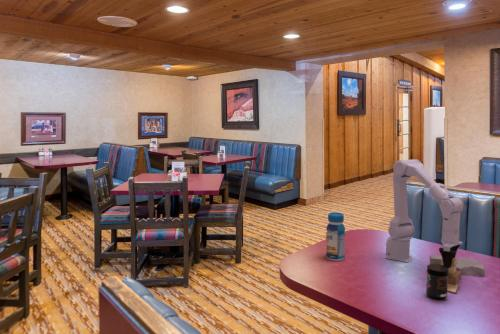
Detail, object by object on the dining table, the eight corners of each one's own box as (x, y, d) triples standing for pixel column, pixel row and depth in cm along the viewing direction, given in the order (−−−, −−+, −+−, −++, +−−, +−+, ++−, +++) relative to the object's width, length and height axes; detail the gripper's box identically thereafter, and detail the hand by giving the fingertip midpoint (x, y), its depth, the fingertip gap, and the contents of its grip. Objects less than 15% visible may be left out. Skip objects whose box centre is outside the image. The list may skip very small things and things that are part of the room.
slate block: (430, 270, 156) (430, 258, 155) (429, 266, 160) (429, 254, 159) (442, 271, 154) (443, 259, 153) (441, 267, 158) (441, 255, 157)
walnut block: (435, 281, 146) (435, 272, 146) (441, 275, 151) (441, 266, 151) (455, 286, 141) (455, 277, 141) (461, 280, 146) (461, 271, 146)
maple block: (440, 272, 145) (441, 259, 145) (443, 268, 149) (443, 256, 148) (453, 274, 143) (454, 262, 142) (456, 271, 146) (456, 258, 146)
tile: (435, 289, 138) (435, 287, 138) (439, 282, 144) (439, 281, 144) (456, 293, 134) (456, 292, 134) (459, 286, 140) (459, 285, 140)
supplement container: (435, 290, 137) (436, 262, 136) (451, 298, 131) (453, 269, 130) (421, 294, 135) (422, 265, 133) (437, 302, 129) (438, 272, 127)
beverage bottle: (347, 261, 167) (347, 216, 164) (327, 261, 167) (328, 216, 164) (342, 254, 175) (343, 211, 172) (324, 254, 175) (324, 211, 173)
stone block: (460, 280, 150) (488, 276, 148) (458, 268, 150) (485, 264, 148) (450, 269, 162) (476, 266, 160) (448, 258, 161) (474, 254, 159)
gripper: (459, 236, 135) (457, 272, 137) (465, 226, 147) (463, 260, 149) (437, 232, 139) (436, 268, 141) (445, 223, 151) (443, 256, 153)
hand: (449, 264), depth 145 cm, fingers open, 7 cm apart
